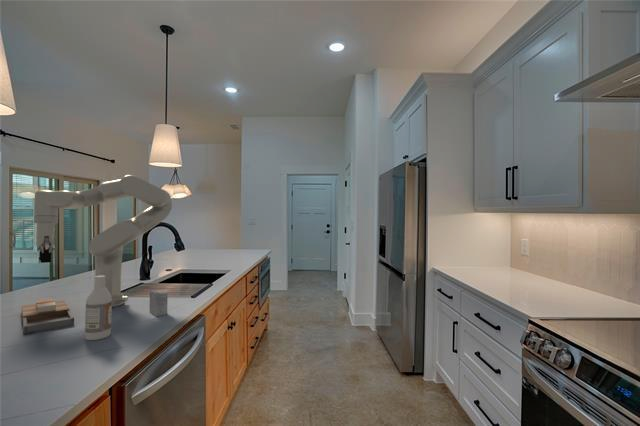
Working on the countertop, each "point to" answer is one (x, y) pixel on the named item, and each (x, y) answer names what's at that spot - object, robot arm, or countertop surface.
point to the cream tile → (46, 307)
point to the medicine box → (158, 303)
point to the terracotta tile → (44, 301)
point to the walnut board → (33, 314)
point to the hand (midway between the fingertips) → (45, 261)
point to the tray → (48, 323)
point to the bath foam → (98, 311)
